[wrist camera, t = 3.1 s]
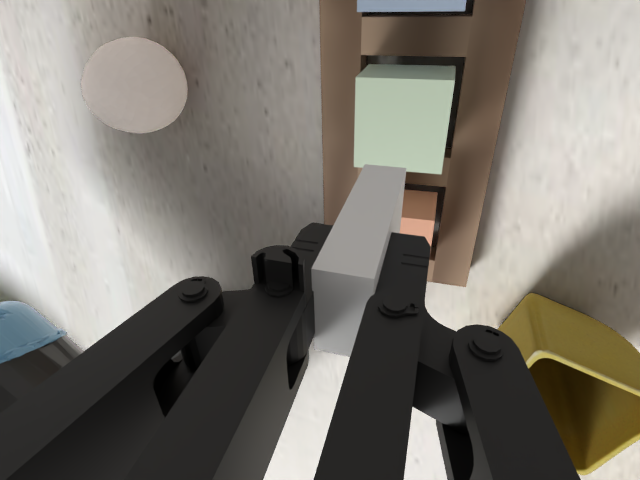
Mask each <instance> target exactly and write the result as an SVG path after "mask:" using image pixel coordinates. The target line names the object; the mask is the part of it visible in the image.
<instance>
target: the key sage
mask: <svg viewBox="0 0 640 480" xmlns="http://www.w3.org/2000/svg"><path fill="white" fill-rule="evenodd" d="M455 67H456V66H435V65H391V64H369V65H368V66H367V67H366V68H365V69H364V70H363V71H362V72H360V73H359V74H358V75H357V76H356V82H355V130H354V167H360V168H363V167H364V165H365V164H369V165H379V166H390V167H400V168H406V171H407V172H419V173H431V174H442V167H443V160H444V153H445V146H446V139H447V132H448V125H449V118H450V111H451V105H452V98H453V91H454V84H455Z"/></svg>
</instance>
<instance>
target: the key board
mask: <svg viewBox="0 0 640 480" xmlns="http://www.w3.org/2000/svg"><path fill="white" fill-rule="evenodd" d="M525 4H526V0H473V7H472V13H471V14H368V12H357V0H319V5H320V51H321V97H322V144H323V190H324V224H326V225H334V223H335V222H336V220H337V218H338V216H339V214H340V212H341V210H342V208H343V206H344V204H345V202H346V200H347V198H348V196H349V194H350V192H351V190H352V188H353V186H354V184H355V182H356V181H357V179H358V177H359V175H360V173H361V171H362V169H363V168H360V167H354V130H355V82H356V76H357V75H358V74H359V73H360V72H362V71H363V70H364V69H365V68H366V63H367V55H383V56H440V57H465V60H464V66H463V73H462V79H461V86H460V93H459V99H458V106H457V112H456V119H455V126H454V132H453V139H452V145H451V148H446V147H445V153H444V160H443V167H442V174H431V173H419V172H407V171H406V177H405V183H408V184H418V185H429V186H440V187H445V192H444V198H443V205H442V212H441V218H440V225H439V231H438V238H437V245H436V246H431V251H430V258H429V266H428V275H427V281H428V282H435V283H442V284H449V285H455V286H462V287H466V284H467V279H468V274H469V269H470V265H471V260H472V255H473V250H474V246H475V241H476V236H477V231H478V227H479V222H480V217H481V212H482V208H483V203H484V198H485V193H486V189H487V184H488V179H489V175H490V170H491V165H492V160H493V156H494V151H495V146H496V141H497V137H498V132H499V127H500V122H501V118H502V113H503V108H504V103H505V99H506V94H507V89H508V84H509V80H510V75H511V70H512V65H513V61H514V56H515V51H516V46H517V42H518V37H519V32H520V27H521V23H522V18H523V13H524V8H525Z"/></svg>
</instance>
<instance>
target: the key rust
mask: <svg viewBox="0 0 640 480" xmlns="http://www.w3.org/2000/svg"><path fill="white" fill-rule="evenodd" d="M437 194H438V192H427V191H417V190H406V189H404V197H403V206H402V216H401V225H400V233H402V234H409V235H417V236H424V237H425V238H426V239H427V241H428V243H429V245H430V246H431V244H432V237H433V230H434V223H435V214H436V204H437ZM430 251H431V250H430Z"/></svg>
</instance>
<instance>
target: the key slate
mask: <svg viewBox="0 0 640 480" xmlns="http://www.w3.org/2000/svg"><path fill="white" fill-rule="evenodd" d="M465 7H466V0H357V12H424V11H465Z"/></svg>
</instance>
